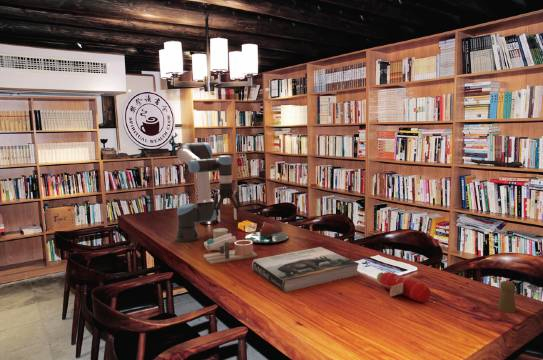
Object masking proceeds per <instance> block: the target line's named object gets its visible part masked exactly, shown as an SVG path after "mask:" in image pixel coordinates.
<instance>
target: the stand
mask: <svg viewBox="0 0 543 360" xmlns="http://www.w3.org/2000/svg"><path fill="white" fill-rule="evenodd" d="M202 256H203V257H202V258H204V259H205V261H207V262H208V263H209V265H213V264H219V263H225V262H231V261H238V260H239V261H240V260H245V259H251V258H257V257H258V254H257V253H256V252H254V251H253V253H252V254H250V255H236V254H235V251H234V249H232V250H231V249H230V244H229V242H226V243H225V250H224V246H222V247H220V250H219V251H218V252H210V253H205V254H202ZM244 258H245V259H244Z"/></svg>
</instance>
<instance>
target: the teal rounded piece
mask: <svg viewBox="0 0 543 360" xmlns="http://www.w3.org/2000/svg"><path fill="white" fill-rule="evenodd" d="M262 224H263V225H262V226H261V227H260V231H258V232H252V233H249V234H247V235H246V236H245V240H249V241H252V242H253V243H261V244H262V243H263V244H269V243H278V242H281V241H285V240H287V239H288V238H289V236H288V234H286V233H283V231H284V229H283V228H282V227H281V225H277V224H272V223H269V222H265V221H263V222H262Z"/></svg>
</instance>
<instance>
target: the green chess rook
mask: <svg viewBox="0 0 543 360" xmlns="http://www.w3.org/2000/svg"><path fill="white" fill-rule="evenodd" d="M499 287H500V290H501V291H500V296H499V300H498V305H497V309H498V310H499V311H501V312H504V313H508V312H509V313H508V314H511V313H512V314H513V312H514V313H516V312H515V311H516V310H517V309H516V300H515V292H516V289H517V287H516V285H515V283H514V282H513V281H508V280H503V281H501V282H500V284H499Z"/></svg>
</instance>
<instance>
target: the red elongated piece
mask: <svg viewBox="0 0 543 360" xmlns="http://www.w3.org/2000/svg"><path fill="white" fill-rule="evenodd" d="M376 280H377V282H378V283H380V284H379V285H381V286H382V287H384V288H385V289H387V290H389V297H391V298H394V297H397V296H401V295H402V296H405V297H407V298H409V299H410V300H413V301H414V302H417V303H425V302H428V300H430V296H431V289H430V287H428V286H427V285H426V284H424V283H422V282H420V281H416V280H413V279H408V278H406V277H404V276H402V275H400V274H397V273H394V272H391V271H388V272H387V271H386V272H379V273H378V274H377V276H376Z"/></svg>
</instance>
